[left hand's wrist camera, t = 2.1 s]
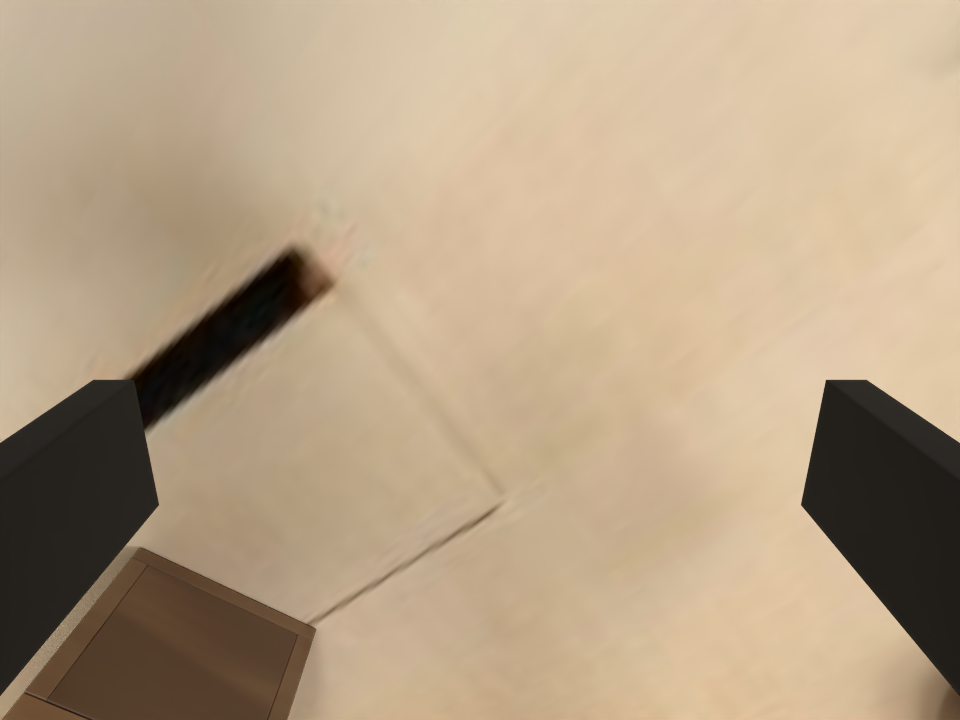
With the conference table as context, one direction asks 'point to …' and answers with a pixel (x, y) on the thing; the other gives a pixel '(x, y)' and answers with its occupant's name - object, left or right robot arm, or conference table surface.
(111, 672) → the chest
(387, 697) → the conference table surface
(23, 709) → the lid
